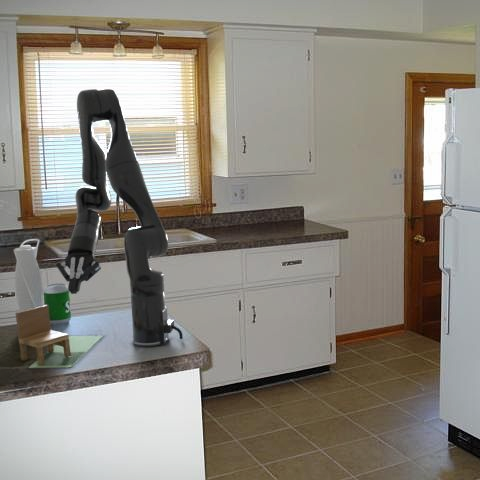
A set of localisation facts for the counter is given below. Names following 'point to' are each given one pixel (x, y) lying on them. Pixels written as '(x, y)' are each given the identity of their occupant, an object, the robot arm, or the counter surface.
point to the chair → (39, 333)
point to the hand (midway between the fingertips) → (73, 292)
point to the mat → (77, 350)
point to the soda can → (57, 303)
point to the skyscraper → (28, 277)
